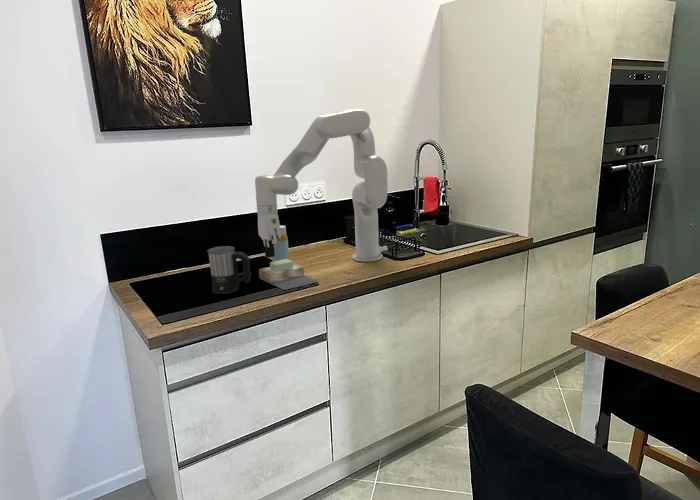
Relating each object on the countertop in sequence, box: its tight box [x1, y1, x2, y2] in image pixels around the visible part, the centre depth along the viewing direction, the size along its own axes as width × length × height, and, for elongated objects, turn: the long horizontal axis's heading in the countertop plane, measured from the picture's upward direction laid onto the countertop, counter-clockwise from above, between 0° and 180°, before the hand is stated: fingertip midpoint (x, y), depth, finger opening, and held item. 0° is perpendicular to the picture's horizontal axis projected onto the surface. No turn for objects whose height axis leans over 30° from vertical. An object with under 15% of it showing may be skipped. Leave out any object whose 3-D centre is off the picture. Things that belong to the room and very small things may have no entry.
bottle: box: [271, 224, 290, 262], centre depth 198 cm, size 7×7×15 cm
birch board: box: [258, 262, 305, 285], centre depth 180 cm, size 14×9×4 cm, turn 126°
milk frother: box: [206, 245, 252, 295], centre depth 170 cm, size 14×16×15 cm
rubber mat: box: [270, 274, 320, 291], centre depth 172 cm, size 14×10×1 cm
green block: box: [269, 259, 294, 272], centre depth 178 cm, size 7×5×2 cm
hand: (270, 256), depth 184 cm, fingers closed
